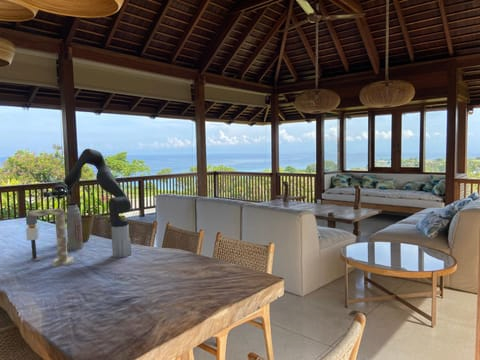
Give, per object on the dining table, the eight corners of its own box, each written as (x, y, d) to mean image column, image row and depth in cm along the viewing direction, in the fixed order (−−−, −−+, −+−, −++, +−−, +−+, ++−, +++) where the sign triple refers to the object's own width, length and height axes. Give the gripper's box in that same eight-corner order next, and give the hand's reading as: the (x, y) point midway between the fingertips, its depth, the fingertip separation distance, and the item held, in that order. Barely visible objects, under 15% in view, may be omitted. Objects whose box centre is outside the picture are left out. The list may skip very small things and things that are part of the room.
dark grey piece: (40, 259, 176) (36, 214, 173) (38, 262, 172) (34, 216, 170) (31, 260, 174) (27, 215, 172) (29, 263, 171) (25, 217, 168)
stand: (73, 258, 184) (69, 207, 181) (71, 263, 176) (68, 209, 173) (34, 263, 177) (30, 209, 174) (31, 269, 169) (26, 212, 166)
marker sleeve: (39, 237, 175) (38, 226, 174) (37, 239, 171) (36, 228, 170) (28, 238, 173) (27, 227, 173) (26, 240, 169) (26, 229, 168)
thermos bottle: (85, 247, 204) (82, 202, 201) (72, 251, 198) (69, 204, 195) (78, 245, 209) (75, 201, 206) (65, 248, 202) (62, 203, 200)
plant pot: (85, 244, 211) (83, 219, 210) (64, 243, 214) (63, 219, 213) (99, 238, 226) (98, 214, 224) (80, 237, 229) (78, 214, 227)
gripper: (46, 186, 197) (41, 189, 182) (73, 184, 202) (70, 187, 187) (47, 198, 197) (42, 202, 182) (73, 197, 203) (71, 200, 188)
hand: (56, 194), depth 185 cm, fingers open, 8 cm apart
